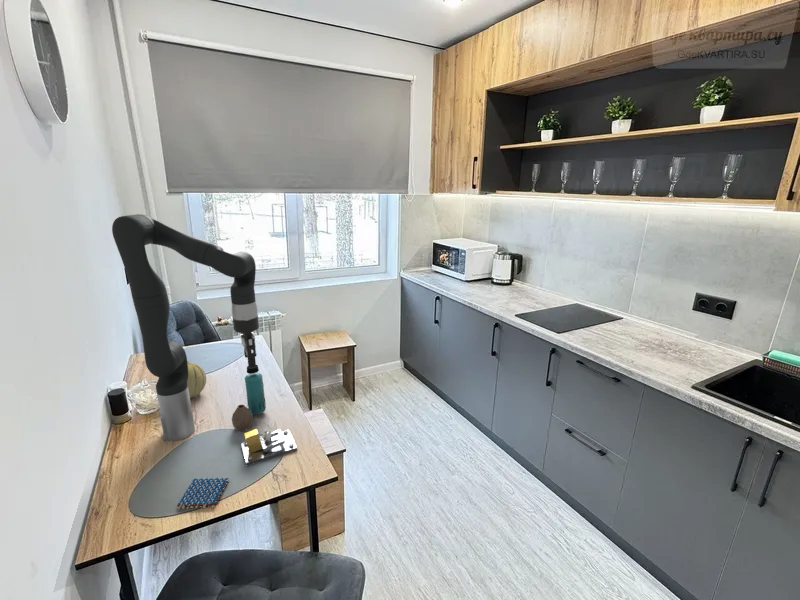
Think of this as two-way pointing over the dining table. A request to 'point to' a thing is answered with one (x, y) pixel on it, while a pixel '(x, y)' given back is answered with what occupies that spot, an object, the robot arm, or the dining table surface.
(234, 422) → the vase
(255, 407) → the beverage bottle
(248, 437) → the end link
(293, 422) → the dining table surface
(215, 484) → the woven mat
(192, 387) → the cantaloupe
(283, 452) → the toggle switch
